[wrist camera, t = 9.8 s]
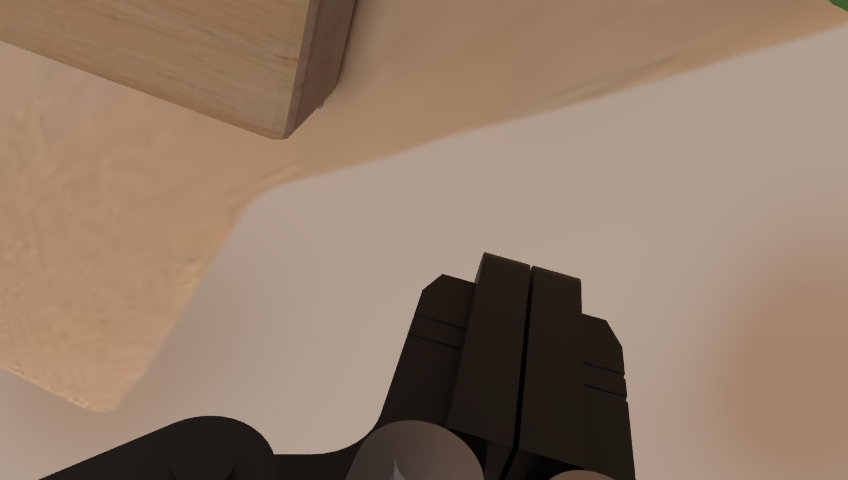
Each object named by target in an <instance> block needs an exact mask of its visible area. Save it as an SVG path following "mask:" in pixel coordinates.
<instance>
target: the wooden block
mask: <svg viewBox="0 0 848 480" xmlns="http://www.w3.org/2000/svg"><path fill="white" fill-rule="evenodd" d="M354 4H355V0H0V40H1V41H4V42H6V43H9V44H12V45H15V46H17V47H20V48H23V49H26V50H28V51H31V52H34V53H37V54H39V55H42V56H45V57H48V58H50V59H53V60H56V61H59V62H61V63H64V64H67V65H69V66H72V67H75V68H78V69H80V70H83V71H86V72H89V73H91V74H94V75H97V76H100V77H102V78H105V79H108V80H111V81H113V82H116V83H119V84H122V85H124V86H127V87H130V88H133V89H135V90H138V91H141V92H144V93H146V94H149V95H152V96H155V97H157V98H160V99H163V100H166V101H168V102H171V103H174V104H177V105H179V106H182V107H185V108H188V109H190V110H193V111H196V112H199V113H201V114H204V115H207V116H210V117H212V118H215V119H218V120H220V121H223V122H226V123H229V124H231V125H234V126H237V127H240V128H242V129H245V130H248V131H251V132H253V133H256V134H259V135H262V136H264V137H267V138H270V139H280V140H282V139H287V138H288V137H289V136H290V135H291V134H292V133H293V132H294V131H295V130H296V129H297V128H298V127H299V126H300V125H301V124H302V123H303V122H304V121H305V120H306V119H307V118H308V117H309V116H310V115H311V114H312V113H313V112H314V111H315V110H316V109H317V108H318V107H319V106H320V105H321V104H322V103H323V102H324V100H325V99H326V98H327V97H328V96H329V95H330V94H331V93H332V92H333V90H334V89H335V88H336V84H337V79H338V75H339V70H340V66H341V62H342V57H343V53H344V48H345V44H346V40H347V35H348V31H349V26H350V22H351V18H352V13H353V9H354Z"/></svg>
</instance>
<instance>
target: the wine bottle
mask: <svg viewBox="0 0 848 480" xmlns="http://www.w3.org/2000/svg"><path fill="white" fill-rule="evenodd" d="M827 1H829V2H831V3H832V4H834V5H836V6H839V7H841V8H842V9H844V10H846V11H847V12H848V0H827Z"/></svg>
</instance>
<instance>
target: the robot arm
mask: <svg viewBox="0 0 848 480" xmlns="http://www.w3.org/2000/svg"><path fill="white" fill-rule="evenodd" d="M624 374H625V371H624V361H623V351H622V346H621V344H620V343H619V341H618V339H617V338H616V336H615V335H614V333H613V331H612V329H611V328H610V326H609V325H608V323H607V321H606V320H603V319H600V318H596V317H592V316H589V315H585V314H582V303H581V281H580V279H579V278H575V277H571V276H568V275H564V274H561V273H558V272H554V271H550V270H547V269H543V268H540V267H536V266H533V267H532V268H531V270H530V265H528V264H525V263H521V262H518V261H514V260H511V259H507V258H504V257H500V256H496V255H493V254H489V253H486V252H484V254H483V256H482V259H481V262H480V265H479V269H478V272H477V275H476V278H475V282H474V283H473V282H469V281H466V280H462V279H459V278H455V277H452V276H448V275H444V274H442V275H441V276H439V277H438V278H437V279H436V280H434V281H433V282H432V283H431V284H430V285H428V286H427V287H426V288H425V289H423V290H422V293H421V296H420V299H419V302H418V305H417V308H416V311H415V315H414V318H413V320H412V323H411V326H410V329H409V332H408V335H407V338H406V341H405V344H404V347H403V350H402V353H401V356H400V359H399V362H398V365H397V368H396V371H395V373H394V377H393V380H392V382H391V385H390V388H389V391H388V394H387V397H386V400H385V403H384V406H383V409H382V412H381V415H380V417H379V419H378V421H377V423H376V424H375V426H374V428H373V429H372V430H371V431H370V432H369V433H368V434H367V435H366V436H365V437H364V438H362V439H361V440H359V441H358V442H357V443H355V444H353V445H351V446H349V447H347V448H344V449H341V450H338V451H335V452H330V453H325V454H312V455H310V454H306V455H304V454H302V455H301V454H295V455H294V454H293V455H292V454H285V455H284V454H279V455H278V454H276V455H275V454H273V451H272V449H271V447H270V445H269V444H268V442H267V441H266V439H265V438H264V437H263V436H262V435H261V434H260V433H259V432H258V431H256V430H255V429H254V428H252V427H251V426H249V425H247V424H245V423H243V422H241V421H238V420H235V419H232V418H226V417H221V416H201V417H194V418H189V419H184V420H182V421H179V422H176V423H173V424H171V425H168V426H166V427H163V428H161V429H159V430H156V431H154V432H152V433H149V434H147V435H144V436H142V437H140V438H137V439H135V440H132V441H130V442H128V443H125V444H123V445H121V446H118V447H116V448H113V449H111V450H109V451H106V452H104V453H101V454H99V455H97V456H94V457H92V458H89V459H87V460H85V461H82V462H80V463H78V464H75V465H73V466H71V467H68V468H66V469H63V470H61V471H59V472H56V473H54V474H51V475H49V476H47V477H44V478H42V479H39V480H636V479H635V469H634V459H633V450H632V440H631V430H630V420H629V410H628V402H626V398H627V390H626V382H625V379H624Z"/></svg>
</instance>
